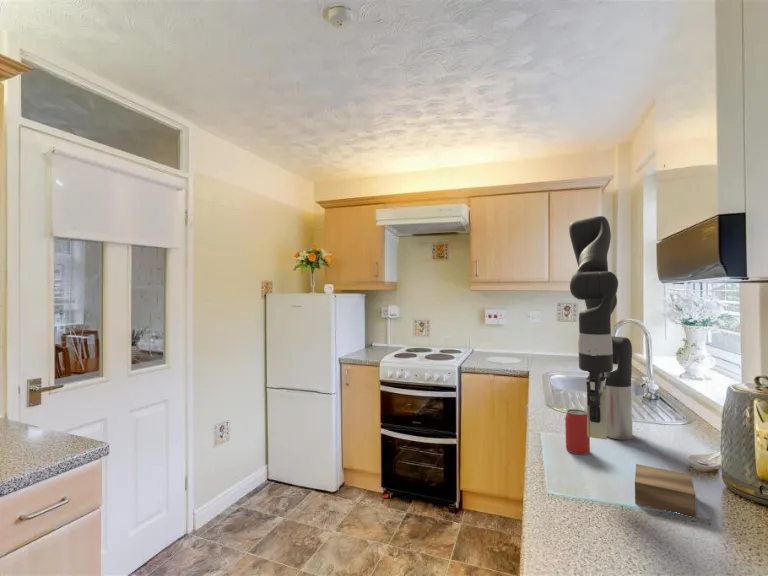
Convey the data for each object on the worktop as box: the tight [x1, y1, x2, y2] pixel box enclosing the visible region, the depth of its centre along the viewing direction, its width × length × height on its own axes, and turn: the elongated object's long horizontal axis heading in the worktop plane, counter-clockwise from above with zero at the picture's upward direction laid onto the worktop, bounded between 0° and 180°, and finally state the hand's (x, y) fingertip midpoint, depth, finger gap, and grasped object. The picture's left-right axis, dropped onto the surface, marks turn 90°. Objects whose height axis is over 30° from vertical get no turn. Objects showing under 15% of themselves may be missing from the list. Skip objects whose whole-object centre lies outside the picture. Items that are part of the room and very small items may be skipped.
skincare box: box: [586, 385, 608, 440], centre depth 98 cm, size 6×4×12 cm
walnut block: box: [634, 463, 697, 519], centre depth 92 cm, size 11×11×5 cm
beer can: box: [564, 408, 591, 456], centre depth 120 cm, size 7×7×12 cm
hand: (596, 417), depth 98 cm, fingers closed on skincare box, 6 cm apart
